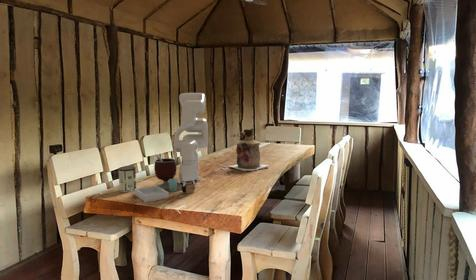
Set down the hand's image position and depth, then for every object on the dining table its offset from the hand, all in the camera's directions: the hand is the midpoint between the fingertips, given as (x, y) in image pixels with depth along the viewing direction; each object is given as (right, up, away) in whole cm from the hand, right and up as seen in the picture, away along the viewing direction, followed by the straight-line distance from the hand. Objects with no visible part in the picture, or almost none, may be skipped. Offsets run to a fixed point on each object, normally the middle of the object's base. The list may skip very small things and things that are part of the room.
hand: (188, 191), depth 224 cm
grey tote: (-21, -2, -9) cm, 22 cm away
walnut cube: (0, -1, 0) cm, 1 cm away
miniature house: (-39, 0, +6) cm, 39 cm away
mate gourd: (-17, +1, +15) cm, 23 cm away
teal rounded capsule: (-10, 0, +4) cm, 11 cm away
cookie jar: (+39, +9, +71) cm, 81 cm away
